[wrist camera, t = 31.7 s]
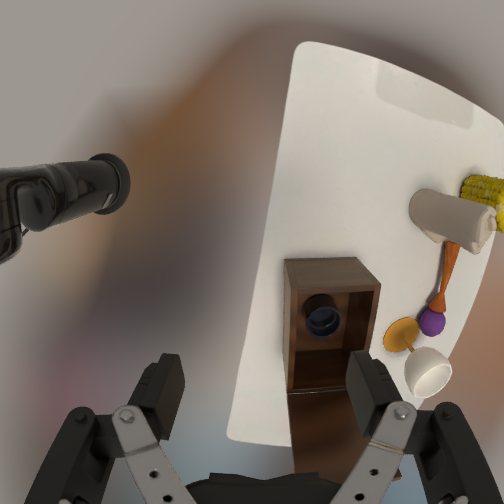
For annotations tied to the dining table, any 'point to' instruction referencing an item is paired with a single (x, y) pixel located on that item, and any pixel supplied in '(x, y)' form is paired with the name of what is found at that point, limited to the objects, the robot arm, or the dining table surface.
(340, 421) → the lid
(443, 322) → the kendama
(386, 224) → the dining table surface
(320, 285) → the chest
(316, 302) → the bowl
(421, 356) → the cup
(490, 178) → the food
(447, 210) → the candle
